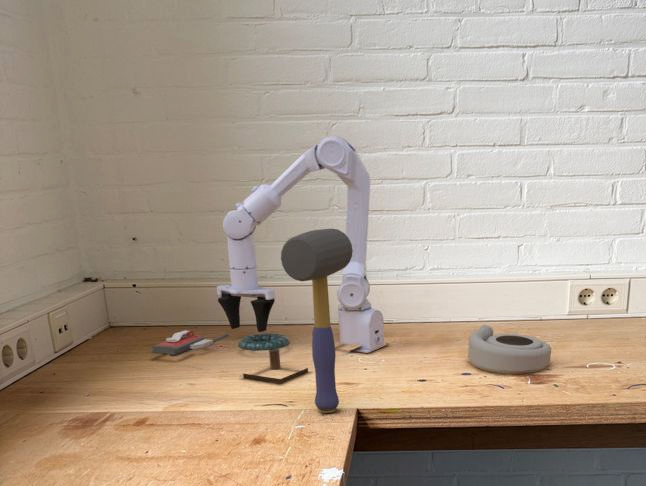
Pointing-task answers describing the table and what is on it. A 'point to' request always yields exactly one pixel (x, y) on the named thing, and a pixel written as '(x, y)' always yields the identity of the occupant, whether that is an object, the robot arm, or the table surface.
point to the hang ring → (263, 341)
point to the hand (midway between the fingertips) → (248, 329)
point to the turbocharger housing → (507, 352)
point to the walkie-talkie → (183, 343)
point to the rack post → (275, 365)
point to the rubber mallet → (319, 298)
